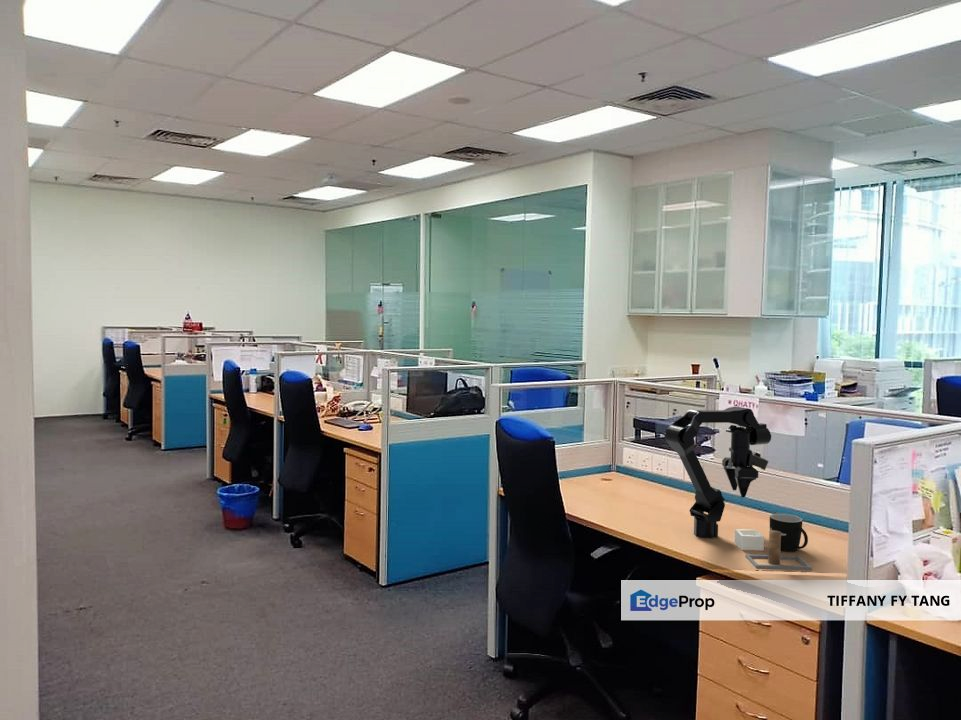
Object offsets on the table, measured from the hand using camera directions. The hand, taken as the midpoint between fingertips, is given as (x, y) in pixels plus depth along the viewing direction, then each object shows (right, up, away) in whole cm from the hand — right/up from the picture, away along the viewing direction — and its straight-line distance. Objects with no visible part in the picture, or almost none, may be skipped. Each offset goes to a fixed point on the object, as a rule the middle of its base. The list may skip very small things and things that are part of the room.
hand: (738, 493), depth 224 cm
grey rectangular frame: (0, -15, -29) cm, 33 cm away
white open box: (-3, -14, -15) cm, 21 cm away
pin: (-1, -14, -29) cm, 32 cm away
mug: (+9, -14, -18) cm, 24 cm away
